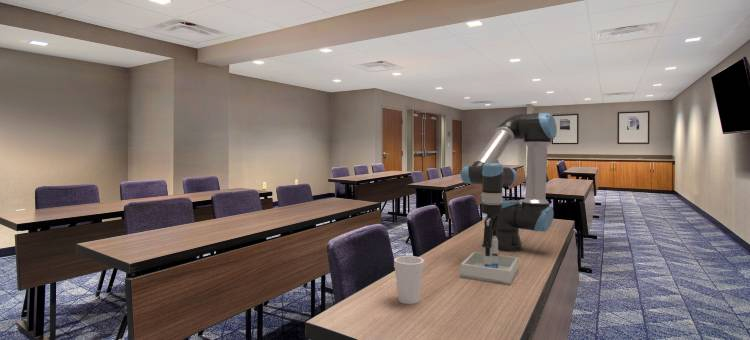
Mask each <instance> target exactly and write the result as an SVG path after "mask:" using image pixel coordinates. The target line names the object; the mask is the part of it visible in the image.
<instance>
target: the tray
mask: <svg viewBox="0 0 750 340" xmlns="http://www.w3.org/2000/svg"><path fill="white" fill-rule="evenodd" d="M518 271H519V257H518V256H517V257H516V256H510V255H502V254H498V269H497V268H490V267H484V252H479V251H473V252H472V253H471V254H469V255H468V256H467V257H466V258H465V259H464V260H463V261H462V262H461V263H460V275H459V277H460V278H464V279H469V280H470V279H471V280H477V281H483V282H489V283H495V284H502V285H508V286H511V285H512V282H513V281H514V278H515V277H516V276H517V273H518Z"/></svg>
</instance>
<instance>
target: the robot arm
mask: <svg viewBox="0 0 750 340" xmlns="http://www.w3.org/2000/svg"><path fill="white" fill-rule="evenodd" d="M557 130H558V129H557V122H556V119H555V117H554V116H553V115H552V114H551V113H549V112H536V113H524V114H523V113H521V114H520V113H519V114H515V115H512V116H510V117H508V118H506V119H505V120H504V121H502V122H501V123H499V125H498V126H497V127H496V129H495V130H494V131H493V132H494V134H493V136H492V138H490V140H489V142H488V143H487V144H486V146H485V147H484V148H483V149H482V151H481V153H480V154H479V155H478V156H477V158H476V159H475V161H474V162H473V163H472V165H465V166H463V167H462V169H461V170H460V178H461V181H462V183H464V184H470V185H482V187H481V189H482V190H481V194H480V197H481V202H482V203H481V213H482V214H484V215H486V218H485V219H484V228H483V243H482V246H481V247H483V253H484V264H489V265H492V246H491V245H492V237H493V236H496V237H497V239H498V251H502V252H520V251H521V250H522V249H523V243H522V240H521V236H520V233H519V232H520V231H519V229H521V230H528V231H533V232H534V231H535V232H547V231H548V230H549V229H550V228H551V227H552V224H553V221H554V220H553V219H554V214H555V213H554V207H551V206H550V202H549V201H548V200H547V199H546V194H547V193H546V192H547V171H548V170H547V169H548V167H547V165H548V164H547V163H548V147H549V146H550V145H551V144H552V140H554V139H555V138H556V137H557ZM516 140H523V144H525V146H527V147H526V169H525V170H526V172H525V173H526V176H525V177H526V178H525V197H524V199H522V200H521V202H520V200H519V199H518V200H517V199H516V200H515V199H513V200H512V199H511V200H509V199H507V200H503V187H509V186H512V185H514V184H515V183H516V182H517V180H518V173H517V171H516V170H515V169H514V168H513V167H509V166H503V164H502V163H499V162H498V163H497V161H498V160H499V158H500V157H501V156H502V154H503V153H504V151H505V149H506V148H508V147H507V146H508V145H510V144H512V143H513V142H514V141H516ZM487 243H488V244H487Z"/></svg>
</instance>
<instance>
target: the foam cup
mask: <svg viewBox="0 0 750 340" xmlns="http://www.w3.org/2000/svg"><path fill="white" fill-rule="evenodd" d="M393 267H394V272H395V281H396V290H397V296H398V301H399V302H400V303H402V304H404V305H405V304H406V305H414V304H417V303H418V302H419V299H420V293H421V287H422V279H423V274H424V272H423V271H424V268H425V260H424V258H421V257H419V256H413V255H402V256H397V257H395V258H394V260H393Z"/></svg>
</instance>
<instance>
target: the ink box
mask: <svg viewBox="0 0 750 340" xmlns="http://www.w3.org/2000/svg"><path fill="white" fill-rule="evenodd" d="M487 244H488V243H487ZM491 246H492V265H489V264H484V267H490V268H497V269H498V255H499V250H498V239H497V237H496V236H493V237H492V245H491Z"/></svg>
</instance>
